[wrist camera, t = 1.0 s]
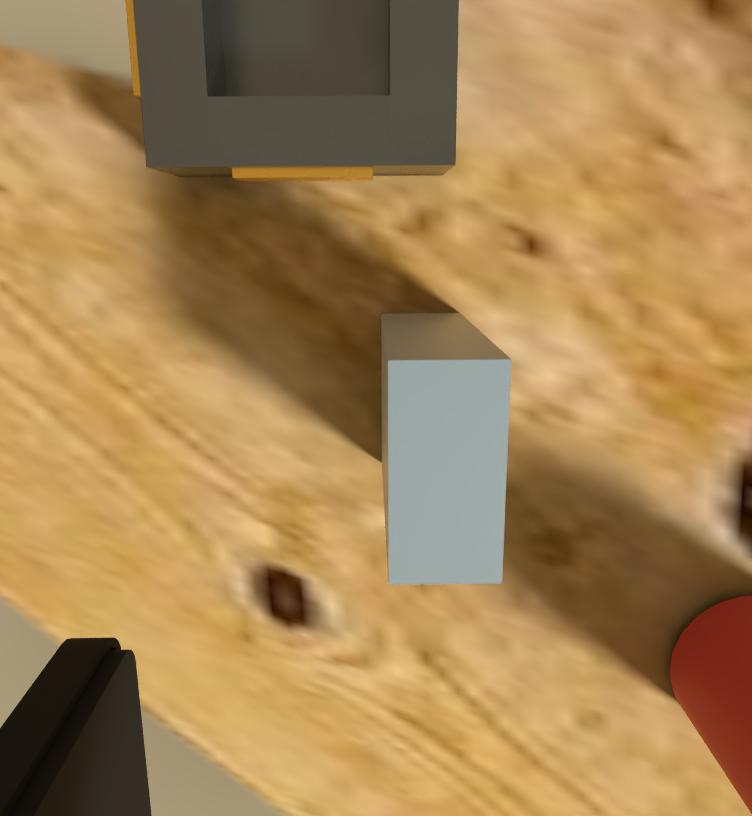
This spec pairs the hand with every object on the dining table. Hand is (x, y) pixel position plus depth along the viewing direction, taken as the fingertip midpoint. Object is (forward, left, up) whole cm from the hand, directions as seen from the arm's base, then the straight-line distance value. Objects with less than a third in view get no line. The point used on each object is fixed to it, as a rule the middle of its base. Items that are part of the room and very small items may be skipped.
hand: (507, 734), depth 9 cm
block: (0, 0, -19) cm, 19 cm away
